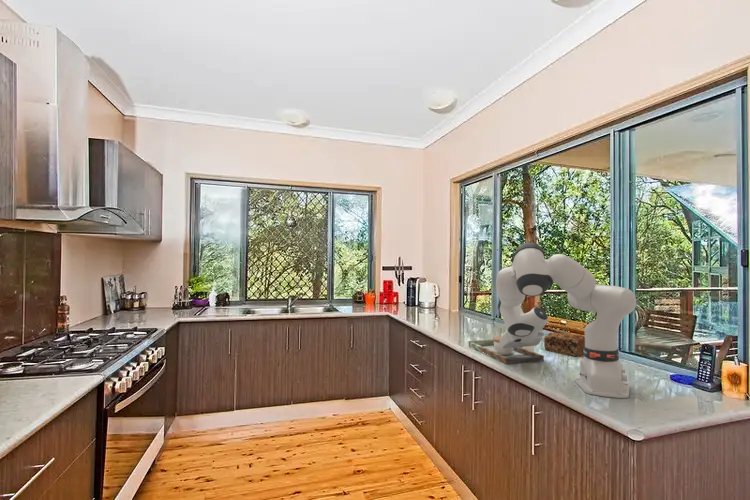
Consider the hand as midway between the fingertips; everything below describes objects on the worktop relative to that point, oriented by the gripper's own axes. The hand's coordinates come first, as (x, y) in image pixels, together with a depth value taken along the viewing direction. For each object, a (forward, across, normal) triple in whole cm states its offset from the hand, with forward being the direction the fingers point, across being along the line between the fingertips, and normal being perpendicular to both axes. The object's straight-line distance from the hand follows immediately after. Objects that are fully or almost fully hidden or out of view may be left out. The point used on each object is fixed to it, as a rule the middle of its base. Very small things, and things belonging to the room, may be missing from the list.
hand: (514, 349), depth 194 cm
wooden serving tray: (+10, 0, -4) cm, 11 cm away
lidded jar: (+10, 0, -3) cm, 10 cm away
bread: (+5, -32, +1) cm, 32 cm away
